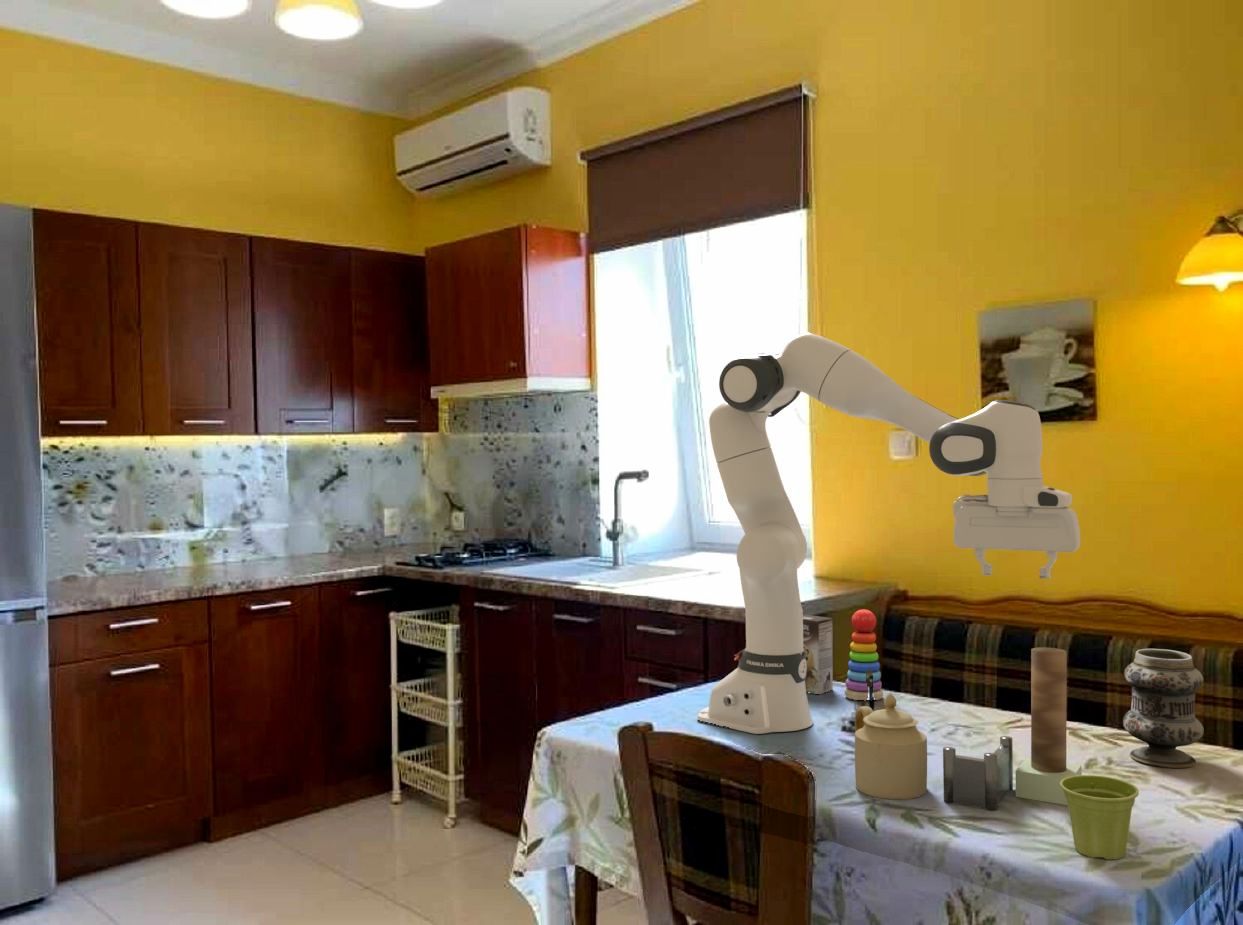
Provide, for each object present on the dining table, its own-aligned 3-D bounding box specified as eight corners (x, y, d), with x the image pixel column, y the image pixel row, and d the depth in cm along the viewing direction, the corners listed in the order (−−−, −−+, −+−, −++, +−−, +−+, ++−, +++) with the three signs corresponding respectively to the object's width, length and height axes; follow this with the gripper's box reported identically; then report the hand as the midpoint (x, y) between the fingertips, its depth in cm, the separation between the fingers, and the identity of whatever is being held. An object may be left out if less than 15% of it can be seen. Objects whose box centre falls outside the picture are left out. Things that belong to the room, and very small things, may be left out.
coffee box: (782, 689, 227) (781, 616, 227) (799, 684, 232) (798, 612, 231) (818, 695, 221) (817, 620, 221) (834, 690, 226) (833, 616, 225)
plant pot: (1103, 871, 129) (1102, 802, 129) (1045, 845, 138) (1044, 781, 138) (1156, 858, 133) (1155, 791, 133) (1096, 833, 142) (1095, 770, 142)
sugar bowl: (821, 782, 165) (819, 689, 165) (861, 767, 172) (860, 677, 172) (901, 805, 154) (900, 705, 154) (941, 788, 161) (940, 692, 161)
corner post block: (942, 802, 155) (941, 749, 155) (963, 779, 165) (962, 730, 165) (995, 811, 151) (995, 757, 150) (1014, 788, 160) (1013, 737, 160)
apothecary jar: (1203, 775, 165) (1203, 663, 165) (1120, 764, 171) (1120, 656, 171) (1203, 754, 175) (1203, 649, 175) (1125, 745, 181) (1125, 643, 181)
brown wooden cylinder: (1028, 769, 157) (1028, 651, 156) (1034, 760, 161) (1034, 646, 161) (1063, 774, 154) (1063, 655, 154) (1069, 765, 158) (1069, 649, 158)
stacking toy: (884, 703, 214) (883, 613, 213) (844, 701, 215) (843, 612, 215) (882, 693, 221) (881, 607, 221) (844, 692, 223) (843, 606, 223)
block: (1015, 796, 157) (1015, 770, 156) (1027, 781, 163) (1026, 756, 163) (1072, 806, 152) (1072, 779, 152) (1081, 790, 159) (1081, 764, 159)
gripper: (947, 495, 178) (948, 575, 178) (1075, 497, 167) (1076, 582, 167) (957, 493, 183) (958, 571, 183) (1082, 495, 172) (1082, 577, 172)
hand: (1015, 576), depth 175 cm, fingers open, 8 cm apart
